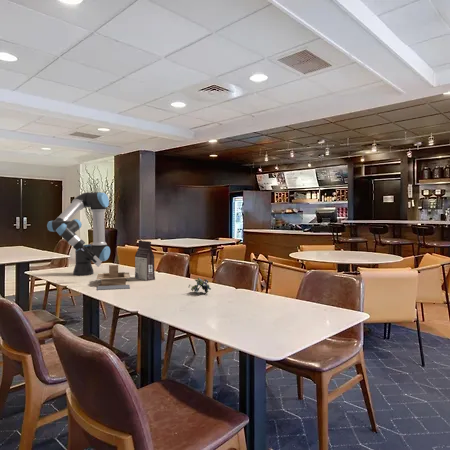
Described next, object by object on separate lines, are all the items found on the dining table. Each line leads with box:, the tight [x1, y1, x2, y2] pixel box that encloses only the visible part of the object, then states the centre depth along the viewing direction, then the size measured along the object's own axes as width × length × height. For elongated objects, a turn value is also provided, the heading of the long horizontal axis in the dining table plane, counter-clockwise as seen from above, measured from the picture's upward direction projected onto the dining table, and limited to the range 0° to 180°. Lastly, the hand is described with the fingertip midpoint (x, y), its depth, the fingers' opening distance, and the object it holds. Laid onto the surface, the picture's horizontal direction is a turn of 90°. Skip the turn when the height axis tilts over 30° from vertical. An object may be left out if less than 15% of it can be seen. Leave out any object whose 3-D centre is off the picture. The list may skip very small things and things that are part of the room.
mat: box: [96, 284, 131, 291], centre depth 240 cm, size 11×20×1 cm, turn 107°
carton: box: [96, 271, 131, 286], centre depth 259 cm, size 26×22×5 cm
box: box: [108, 264, 119, 278], centre depth 259 cm, size 6×6×12 cm
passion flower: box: [188, 277, 212, 294], centre depth 224 cm, size 11×11×12 cm
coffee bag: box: [134, 240, 156, 282], centre depth 274 cm, size 16×9×28 cm, turn 46°
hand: (100, 264), depth 255 cm, fingers open, 13 cm apart
